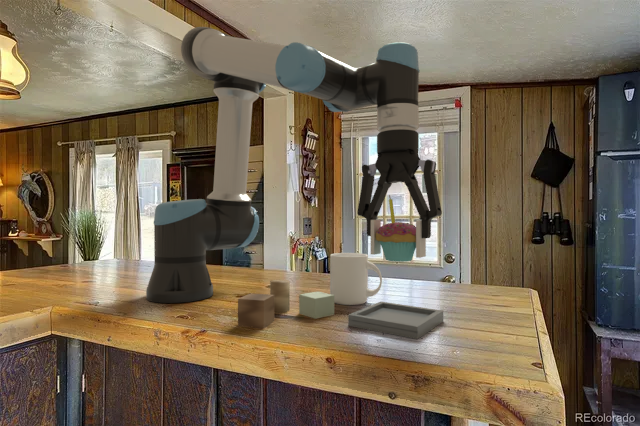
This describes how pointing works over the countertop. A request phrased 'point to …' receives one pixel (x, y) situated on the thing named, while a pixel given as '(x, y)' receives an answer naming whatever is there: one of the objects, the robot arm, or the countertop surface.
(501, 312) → the countertop surface
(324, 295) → the sage block
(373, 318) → the tray
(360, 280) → the mug
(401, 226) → the cupcake
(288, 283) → the oak cylinder
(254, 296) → the walnut block
